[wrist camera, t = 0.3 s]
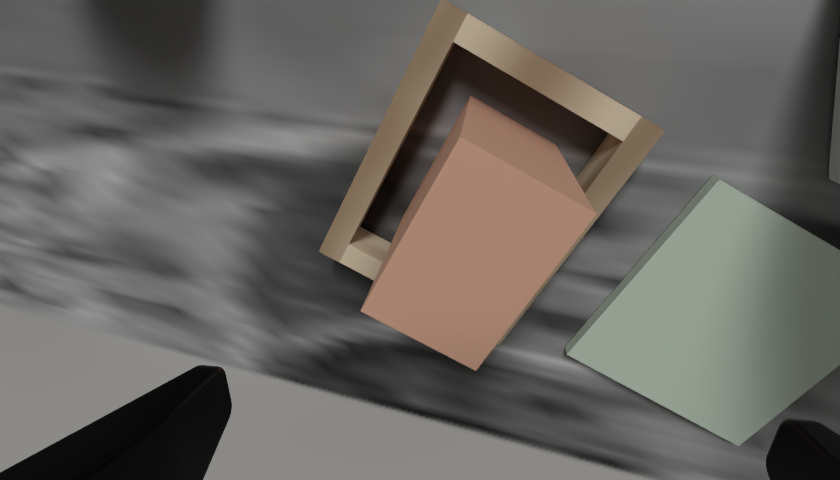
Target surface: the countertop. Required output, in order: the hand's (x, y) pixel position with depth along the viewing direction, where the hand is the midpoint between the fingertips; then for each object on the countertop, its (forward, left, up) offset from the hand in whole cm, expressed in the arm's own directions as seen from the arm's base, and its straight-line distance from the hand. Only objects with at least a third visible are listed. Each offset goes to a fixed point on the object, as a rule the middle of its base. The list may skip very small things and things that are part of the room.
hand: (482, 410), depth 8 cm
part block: (0, 0, -14) cm, 14 cm away
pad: (-13, 0, -14) cm, 19 cm away
